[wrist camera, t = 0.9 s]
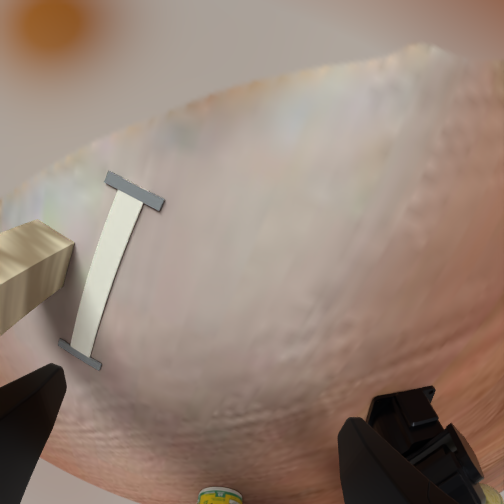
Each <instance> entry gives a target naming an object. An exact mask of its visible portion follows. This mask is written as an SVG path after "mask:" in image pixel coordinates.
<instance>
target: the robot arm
mask: <svg viewBox="0 0 504 504" xmlns="http://www.w3.org/2000/svg"><path fill="white" fill-rule="evenodd" d="M66 389H67V385H66V380H65V375H64V370H63V368H62V367H61V366H59V365H56V364H53V363H50V364H48V365H46V366H43V367H41V368H39V369H37V370H35V371H33V372H31V373H29V374H27V375H25V376H23V377H21V378H19V379H17V380H15V381H13V382H10V383H8V384H6V385H4V386H2V387H0V504H20V502H21V500H22V497H23V495H24V492H25V490H26V487H27V485H28V482H29V480H30V477H31V475H32V473H33V471H34V468H35V466H36V464H37V461H38V459H39V457H40V455H41V453H42V450H43V448H44V446H45V444H46V442H47V440H48V438H49V435H50V433H51V431H52V429H53V426H54V423H55V421H56V418H57V415H58V412H59V409H60V406H61V404H62V401H63V398H64V396H65V393H66ZM434 393H435V388H434V387H433V386H428V387H423V388H419V389H414V390H409V391H404V392H398V393H393V394H387V395H381V396H377V397H375V398H374V399H373V400H372V404H371V408H370V411H369V414H368V418H367V421H366V422H365V421H364V420H363V419H362V418H360V417H349V418H348V419H347V420H346V422H345V423H344V425H343V427H342V428H341V430H340V432H339V434H338V451H339V467H340V479H341V485H342V490H343V496H344V502H345V504H485V502H486V496H485V494H484V492H483V490H482V488H481V486H480V484H479V482H480V481H481V480H482V479H484V475H483V472H482V470H481V467H480V465H479V462H478V460H477V457H476V455H475V453H474V451H473V450H472V448H471V447H470V445H469V443H468V442H467V440H466V439H465V438H464V436H463V435H462V434H461V433H460V432H459V431H458V430H457V429H456V427H455V426H454V425H453V424H452V423H450V424H449V425H448V426H447V427H446V429H443V427H442V425H441V424H440V422H439V420H438V419H439V417H438V415H437V414H436V412H435V410H434V409H433V407H432V405H431V404H430V403H431V401H432V398H433V396H434Z"/></svg>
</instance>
